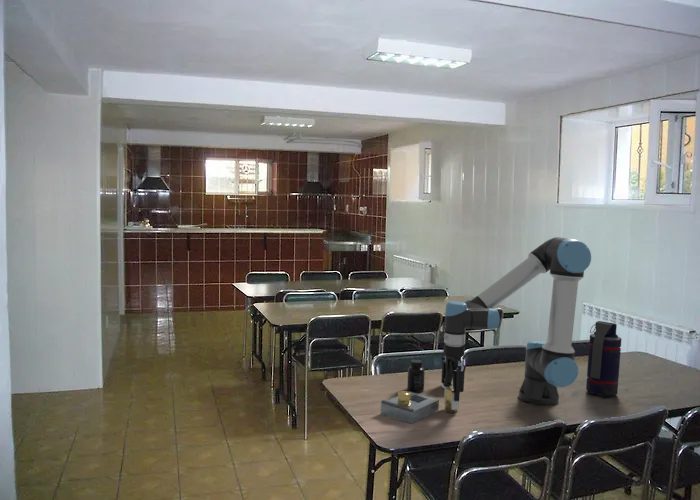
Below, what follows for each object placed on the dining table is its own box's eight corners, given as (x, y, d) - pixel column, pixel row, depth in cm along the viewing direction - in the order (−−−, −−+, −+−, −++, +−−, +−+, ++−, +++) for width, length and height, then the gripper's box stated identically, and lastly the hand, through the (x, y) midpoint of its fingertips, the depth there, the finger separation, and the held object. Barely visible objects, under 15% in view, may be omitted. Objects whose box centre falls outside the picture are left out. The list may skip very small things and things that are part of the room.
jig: (438, 410, 215) (439, 389, 214) (410, 423, 201) (411, 401, 201) (409, 401, 223) (410, 381, 223) (380, 413, 210) (381, 392, 209)
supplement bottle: (426, 389, 239) (427, 360, 238) (420, 394, 233) (422, 364, 232) (410, 386, 242) (411, 358, 241) (404, 391, 236) (405, 362, 235)
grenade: (593, 387, 249) (598, 318, 247) (621, 394, 241) (627, 322, 238) (578, 394, 239) (583, 322, 237) (608, 402, 231) (613, 327, 228)
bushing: (459, 410, 215) (460, 389, 215) (453, 414, 212) (454, 392, 211) (448, 407, 218) (449, 386, 218) (442, 410, 215) (443, 389, 214)
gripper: (433, 339, 220) (430, 399, 222) (457, 351, 204) (454, 416, 206) (451, 338, 223) (448, 397, 225) (476, 349, 206) (472, 414, 208)
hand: (451, 406), depth 215 cm, fingers closed on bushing, 4 cm apart
